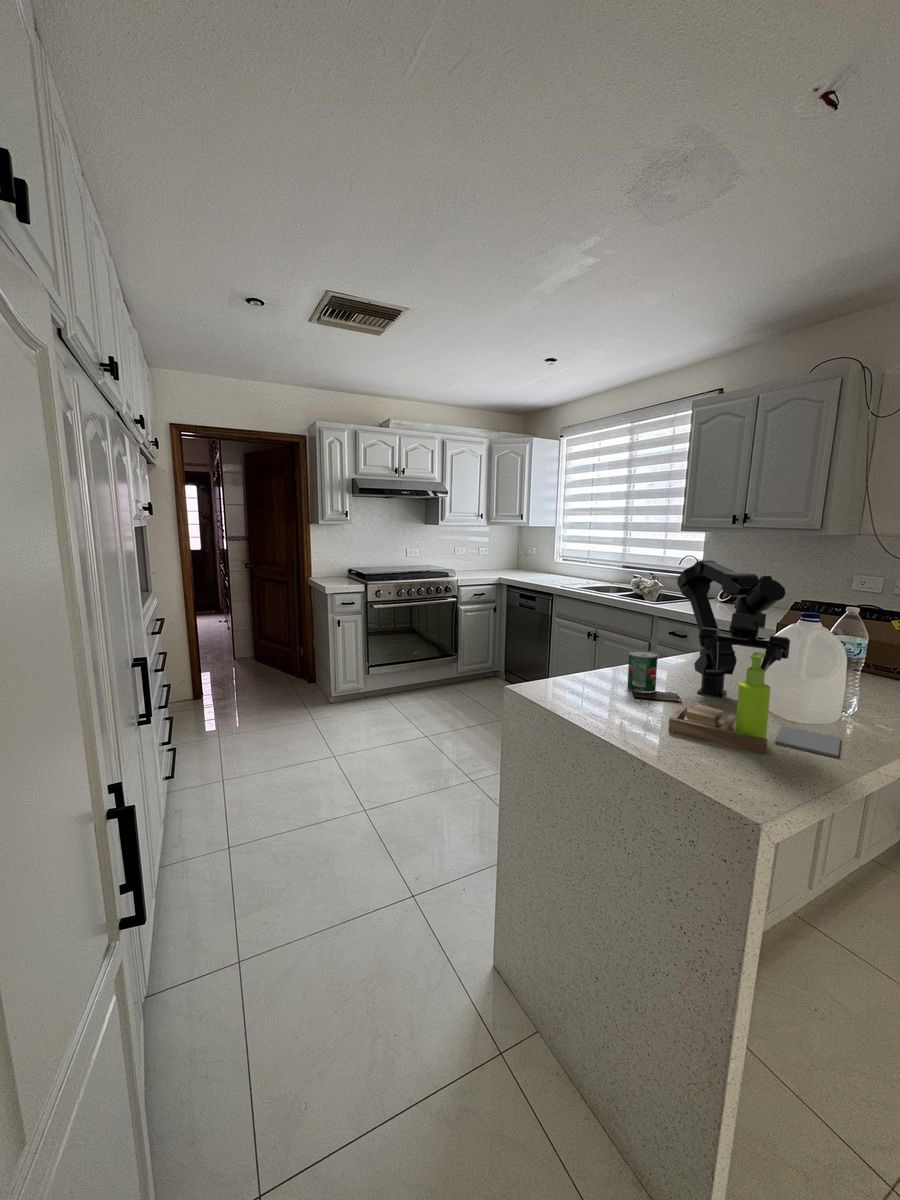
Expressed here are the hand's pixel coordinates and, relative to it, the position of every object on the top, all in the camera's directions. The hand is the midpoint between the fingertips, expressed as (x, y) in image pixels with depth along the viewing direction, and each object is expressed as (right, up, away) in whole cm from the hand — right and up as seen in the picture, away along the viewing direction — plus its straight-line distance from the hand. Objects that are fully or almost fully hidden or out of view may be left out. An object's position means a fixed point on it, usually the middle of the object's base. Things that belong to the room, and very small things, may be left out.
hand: (737, 672), depth 115 cm
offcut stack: (-8, -14, +1) cm, 16 cm away
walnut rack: (-5, -14, -1) cm, 15 cm away
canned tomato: (-11, -10, +30) cm, 33 cm away
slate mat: (+12, -14, -6) cm, 20 cm away
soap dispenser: (0, -15, -5) cm, 15 cm away
